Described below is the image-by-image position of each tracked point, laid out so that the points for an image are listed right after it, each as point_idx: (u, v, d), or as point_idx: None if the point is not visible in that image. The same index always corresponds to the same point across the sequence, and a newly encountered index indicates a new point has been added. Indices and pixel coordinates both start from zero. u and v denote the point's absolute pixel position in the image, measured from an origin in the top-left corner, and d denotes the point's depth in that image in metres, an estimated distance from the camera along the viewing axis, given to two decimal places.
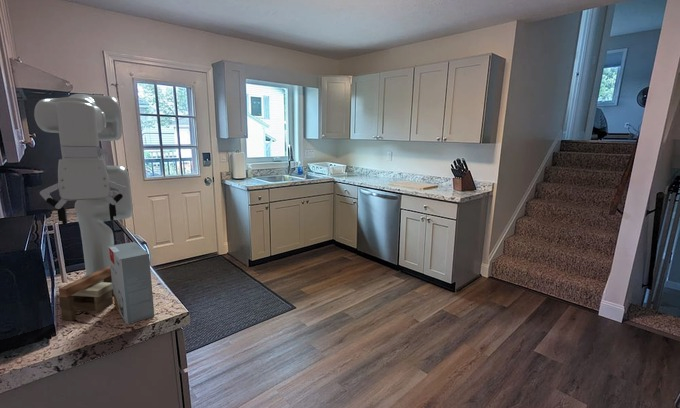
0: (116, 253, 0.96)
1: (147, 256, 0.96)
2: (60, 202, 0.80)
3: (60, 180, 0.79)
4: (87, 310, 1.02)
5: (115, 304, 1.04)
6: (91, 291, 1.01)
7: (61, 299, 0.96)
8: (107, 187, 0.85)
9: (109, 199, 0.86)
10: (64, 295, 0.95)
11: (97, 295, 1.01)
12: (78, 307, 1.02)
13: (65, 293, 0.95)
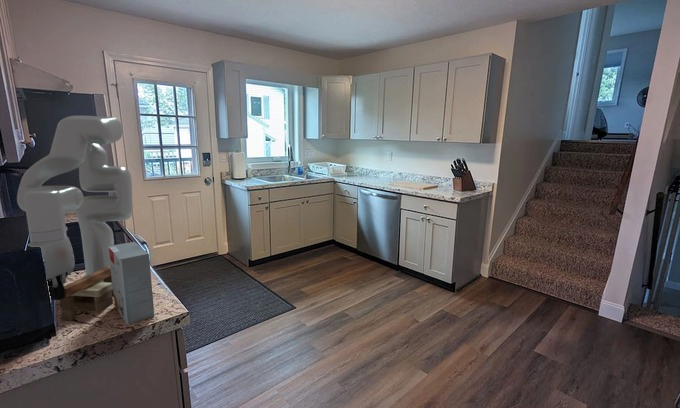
0: (116, 253, 0.96)
1: (147, 256, 0.96)
2: (54, 282, 0.91)
3: None
4: (87, 310, 1.02)
5: (115, 304, 1.04)
6: (91, 291, 1.01)
7: (61, 299, 0.96)
8: None
9: (63, 277, 0.94)
10: (65, 295, 0.95)
11: (97, 295, 1.01)
12: (78, 307, 1.02)
13: (66, 293, 0.95)
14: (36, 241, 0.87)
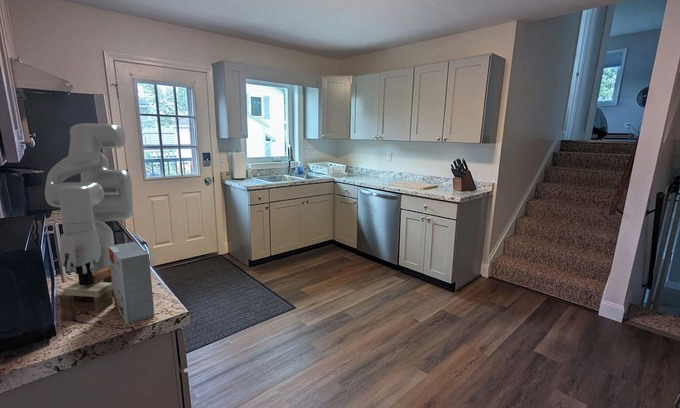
0: (116, 253, 0.96)
1: (147, 256, 0.96)
2: (84, 269, 1.00)
3: (75, 251, 0.96)
4: (87, 310, 1.02)
5: (115, 304, 1.04)
6: (91, 291, 1.01)
7: (61, 299, 0.96)
8: (100, 249, 1.05)
9: (91, 265, 1.03)
10: (93, 281, 1.05)
11: (97, 295, 1.01)
12: (78, 307, 1.02)
13: (93, 279, 1.05)
14: (69, 231, 0.96)
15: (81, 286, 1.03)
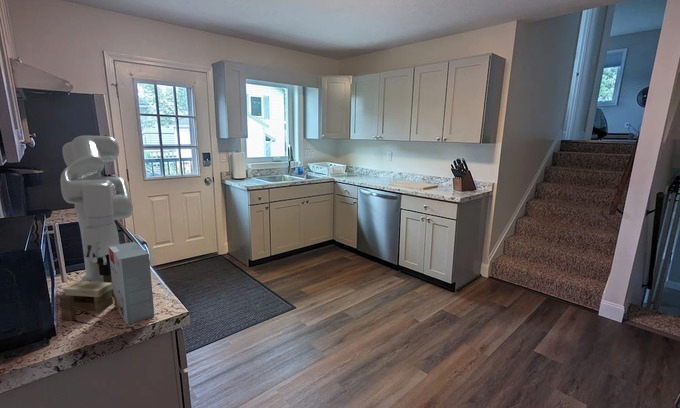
0: (116, 253, 0.96)
1: (147, 256, 0.96)
2: (104, 260, 1.08)
3: (96, 243, 1.04)
4: (87, 310, 1.02)
5: (115, 304, 1.04)
6: (91, 291, 1.01)
7: (61, 299, 0.96)
8: None
9: None
10: None
11: (97, 295, 1.01)
12: (78, 307, 1.02)
13: None
14: (91, 225, 1.04)
15: (81, 286, 1.03)
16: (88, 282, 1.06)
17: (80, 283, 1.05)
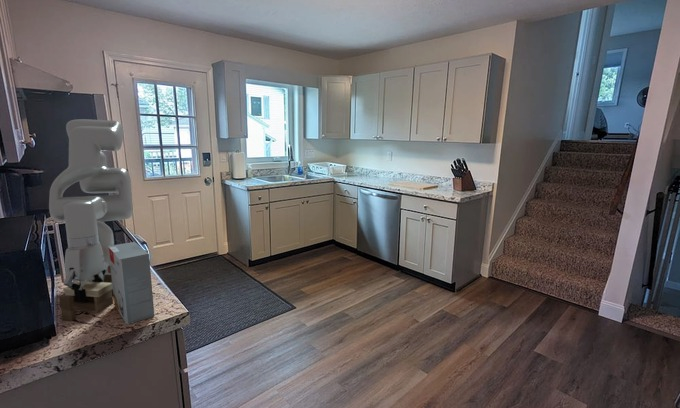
0: (116, 253, 0.96)
1: (147, 256, 0.96)
2: (81, 284, 1.00)
3: (79, 265, 0.98)
4: (87, 310, 1.02)
5: (115, 304, 1.04)
6: (91, 291, 1.01)
7: (61, 299, 0.96)
8: (104, 262, 1.07)
9: (101, 275, 1.07)
10: None
11: (97, 295, 1.01)
12: (78, 307, 1.02)
13: None
14: (74, 246, 0.98)
15: None
16: (88, 282, 1.06)
17: None
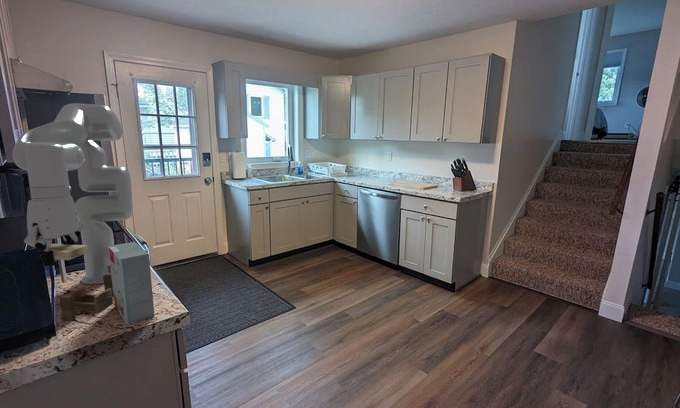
0: (116, 253, 0.96)
1: (147, 256, 0.96)
2: (48, 244, 0.82)
3: (44, 221, 0.81)
4: (87, 310, 1.02)
5: (115, 304, 1.04)
6: (60, 253, 0.83)
7: (61, 299, 0.96)
8: (77, 221, 0.90)
9: (74, 236, 0.90)
10: None
11: (67, 258, 0.83)
12: (78, 307, 1.02)
13: None
14: (38, 197, 0.80)
15: None
16: (58, 244, 0.89)
17: None
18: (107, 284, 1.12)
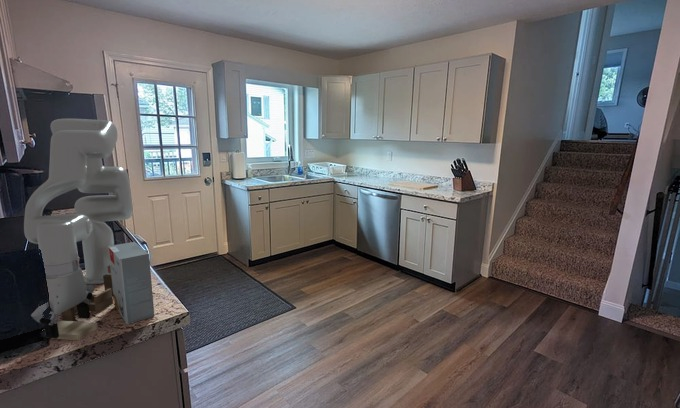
0: (116, 253, 0.96)
1: (147, 256, 0.96)
2: (53, 318, 0.84)
3: (55, 297, 0.84)
4: None
5: (115, 304, 1.04)
6: (70, 336, 0.87)
7: None
8: (86, 290, 0.93)
9: (85, 300, 0.94)
10: None
11: None
12: None
13: None
14: (49, 275, 0.84)
15: (60, 328, 0.90)
16: (69, 322, 0.93)
17: (60, 324, 0.92)
18: (107, 284, 1.12)
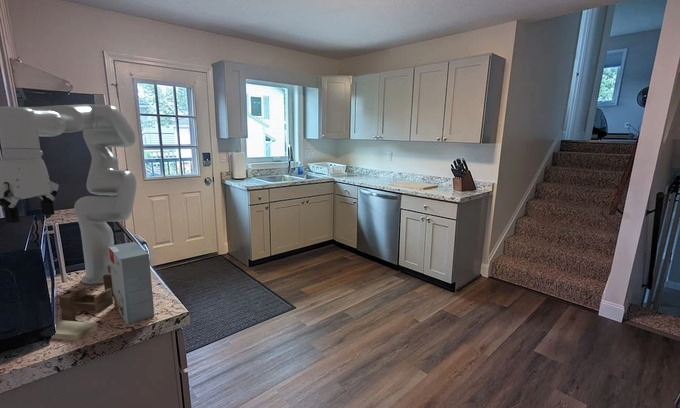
0: (116, 253, 0.96)
1: (147, 256, 0.96)
2: (13, 201, 0.85)
3: (15, 180, 0.85)
4: (87, 310, 1.02)
5: (115, 304, 1.04)
6: (70, 336, 0.87)
7: (61, 299, 0.96)
8: (49, 184, 0.94)
9: (49, 195, 0.95)
10: None
11: (77, 340, 0.87)
12: (78, 307, 1.02)
13: None
14: (9, 157, 0.85)
15: (60, 328, 0.90)
16: (69, 322, 0.93)
17: (60, 323, 0.92)
18: (107, 284, 1.12)
